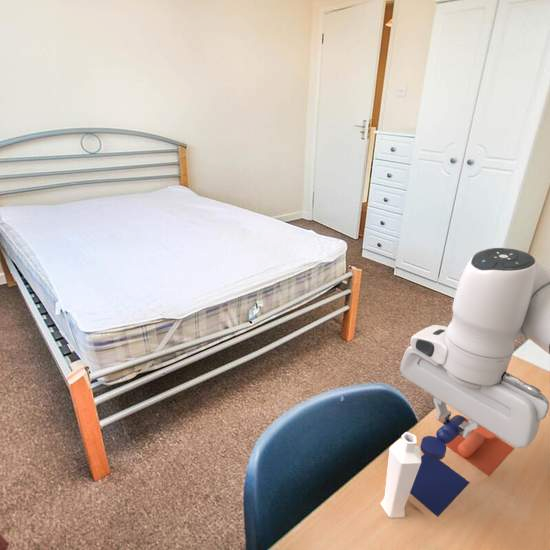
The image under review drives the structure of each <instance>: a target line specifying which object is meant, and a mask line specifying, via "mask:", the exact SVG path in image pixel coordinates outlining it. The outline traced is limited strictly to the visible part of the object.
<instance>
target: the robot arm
mask: <svg viewBox="0 0 550 550" xmlns="http://www.w3.org/2000/svg"><path fill="white" fill-rule="evenodd" d="M451 309H452V317H451V321H450V322H449V324H448V325H447V326H445V325H440V324H432V325H430V326H427V327H425V328H423V329H421V330H419V331H418V332H415V334H413V335H412V336H411V337H410V341H409V344H410V346H408V347H407V348H406V349H405V351H404V353H403V356H402V359H401V361H400V362H401V363H400V367H399V371H400V374H401V375H402V377H403V379H405V380H407V381H408V382H410V383H412V384H413V385H415V386H417V387H418V388H420V389H421V390H422V391H424V392H426V393H428V394H430V395H431V396H432V397H433V400H432V401H433V404H434V407H435V411H436V417H435V420H436V421H438V422H439V423H441V424H443V425H444V424H445V423H447V422H448V421H449V420H450V419H451V416H452V412H451V411H450V410H449V409H448V407H450V408H452V409H453V410H455V411H457V412H458V413H460V414H461V415H462V416H464V417H465V418H467V419H468V420H469V421H468V422H469V423H470V424H469V423H467V422H466V421H464V422H463V423H462V424H460V425H459V427H458V431H457V433H458V434H459V435H461V436H462V437H463V438H465V439H467V438H468V437H469V436H470V434H471V432H472V430H474V429H476V428H478V427H479V426H480V425H481V426H482V427H484V428H485V429H487V430H489V431H490V432H492V433H493V434H495V436H496V437H497V438H499V439H500V440H502V441H504V442H505V443H507V444H508V445H510V446H512V447H513V448H516V449H525V448H528V447H529V446H530V445H531V444H532V443H533V441H534V440H535V438H536V436H537V434H538V430H539V427H540V423H541V420H544V419H545V418H546V417H547V414H548V412H549V409H550V402H549V401H548V398H547V397H546V396H545V395H544V394H543V393H542V390H541V389H539V388H538V387H536V386H534V385H532V384H529V383H527V382H525V381H523V380H521V379H520V378H518V377H517V376H515V375H512V374H511V373H508V372H507V371H508V368H509V365H510V362H511V359H512V356H513V354H514V350H515V345H516V344H515V342H516V340H517V339H519V338H527V339H529V341H531V342H533V343H534V344H535V345H537V346H538V347H539V348H541V349H542V350H543V351H544V352H546V353H547V354H548V355H550V269H549V268H547V267H545V266H543V265H541V264H540V263H538V262H537V261H536V258H535V257H534V256H533V255H531V254H530V253H528V252H526V251H522V250H519V249H515V248H505V247H491V248H487V249H486V248H485V249H482V250H480V251H478V252H476V253H474V254H473V255H472V257H471V258H470V259H469V260H468V262H467V263H466V266H464V269H463V271H462V272H461V275H460V278H459V281H458V284H457V287H456V291H455V294H454V297H453V302H452V306H451ZM447 406H448V407H447Z"/></svg>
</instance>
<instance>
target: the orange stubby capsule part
mask: <svg viewBox="0 0 550 550" xmlns="http://www.w3.org/2000/svg"><path fill="white" fill-rule="evenodd" d="M494 437H496V435H495V434H493V433H492V432H490V431H489V430H487V429H485V428H484V427H482V426H481V425H480V426H479V427H478V428H476V429H474V430H473V432H472V433H471V434H470V436H469V437H468V438H467V439H465V440H464V441H463V442H461V443H460V444H459V446H458V452H459V454H460V455H461V456H463V457H469V456H471V455H472V454H473V453H474V452H475V451H476V450H477V449H478V448H479V447H480V446H481V445H482V444H483V443H484V442H486V443H490V442H492V441H493V440H494ZM460 455H459V456H460ZM461 456H460V457H461Z"/></svg>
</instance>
